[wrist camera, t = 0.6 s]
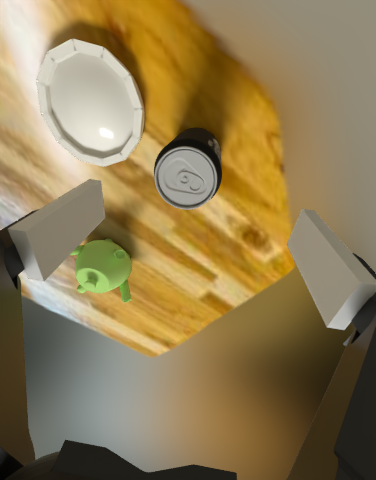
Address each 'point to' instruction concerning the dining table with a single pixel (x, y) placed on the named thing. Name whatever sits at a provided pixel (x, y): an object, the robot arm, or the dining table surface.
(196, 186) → the beverage can
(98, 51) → the saucer
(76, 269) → the green rounded body
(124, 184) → the dining table surface
